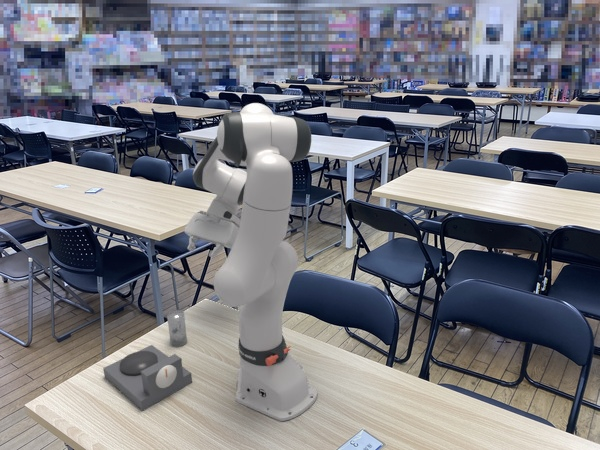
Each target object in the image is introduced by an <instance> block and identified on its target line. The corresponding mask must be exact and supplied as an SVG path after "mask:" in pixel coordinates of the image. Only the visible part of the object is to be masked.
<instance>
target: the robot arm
mask: <svg viewBox="0 0 600 450" xmlns="http://www.w3.org/2000/svg"><path fill="white" fill-rule="evenodd" d="M311 130H312V129H311V126H309V124H308V122H307V121H306V120H304V119H302V118H300V117H296V116H285V115H279V114H274V112H273V111H272V109H271V108H269V106H267V105H265V104H263V103H259V102H252V103H249V104H246V105H245V106H243V107H242V108H241V109H240V111H234V112H229V113H225V114H224V115H223V116H222V117H221V119H220V121H219V124H218V127H217V130H216V136H215V138H214V140H213V141H212V142H211V143H210V146H209V147H208V149H207V150H206V152H205V154H204V155H203V157H202V159H200V160H199V161H198V162H197V164H196V165H195V166H194V169H193V172H192V179H193V182H194V184H195V186H196V187H198V188H200V189H203V190H205V191H208V192H210V193H212V194H214V195H216V196H215V197H214V198H213V200H212V201H211V203H210V205H209V207H208V208H207V210H206V211H204V210H199V211H198V212H196V213H194V215H193V216H191V218H190V219H189V221H188V222H187V223H186V225H185V227H184V230H183V231H184V233H185V234H186V235H187V236H189V239H188V240H189V241H188V246H187V251H190V252H194V251H195V249H196V246H195V243H196V242H197V241H198V240H201V241H204V242H207V243H210V244H214V245H215V248H213V250H211V249H210V251H209V253H208V257H210V258H212V259H215V258H216V257H217V254H220V252H221V251H223V249H224V248H228V249H230V251H229V254H228V255H227V257H226V260H225V261H224V262H223V264H222V266H221V267H220V268H219V269H218V271H216V273H215V275H214V277H213V289H214V292H215V294H216V297H217V298H218V299H219V300H220V301H221V303H223V304H225V305H226V306H229V307H231V308H237V307H238V308H239V307H240V310H239V313H238V326H239V330H238V331H239V338H238V347H237V348H238V353H239V356H240V358H239V359H240V360H239V365H238V373H237V374H238V376H237V383H236V394H235V398H234V399H235V402H237V403H239V404H241V405H243V406H246V407H247V408H250V409H252V410H255V411H257V412H259V413H260V414H263V415H266V416H268V417H270V418H272V419H275V420H277V421H279V422H284V421H285V422H286V421H289V420H293V419H294V418H297V417H298V416H300V415H301V414H303V413H304V412H306V411H307V410H308V409H309V408H310V407H312V405H313V404H314V403H315V402H316V400H317V399H318V391H317V389H316V388H315V387H314V386H312V385H311V384H310V383H309V381H308V377H307V374H306V372H305V371H304V370H303V365H302V362H300V361H298V362H297V361H296V360H295V359H294V357H293V356H292V355H291V353H290V351H291V345H289V346H287V343H286V340H285V337H284V335H283V310H284V305H285V301H286V297H287V293H288V290H289V286H290V283H291V280H292V279H293V276H294V274H295V272H296V270H297V269H298V267H299V255H298V253H297V251H296V249H295V248H294V247H293V246H292V245H291V243H289V242H287V241H285V240H284V239H285V237H286V235H287V232H288V225H289V219H290V213H291V206H292V198H293V197H292V196H293V167H292V164H291V163H294V162H301V161H302V160H304V159H305V158H306V157H307V156H308V155H309V153H310V150H311V145H312V131H311ZM220 160H223V161H225V162H228V163H229V162H230V163H232V164H234V166H235V167H236V168H233V167H231V166H229V165H227V164H225V163H223V162H221V161H220ZM240 166H241V167H246V171H245V170H243V168H242V169H241V168H238V167H240ZM240 206H241V214H240V217H238V216H237V215H238V211H239V208H240Z"/></svg>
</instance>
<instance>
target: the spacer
mask: <svg viewBox="0 0 600 450" xmlns="http://www.w3.org/2000/svg"><path fill="white" fill-rule="evenodd" d="M166 318H167V325H168V334H169V340H170V346H171V347H172V348H173V347H174V348H182V347H184V346H185V345H186V344H188V337H187V327H186V319H185V318H186V317H185V312H184V311H183V310H181V309H176V310H171V311H169V312H168V313H167V315H166Z"/></svg>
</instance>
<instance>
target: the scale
mask: <svg viewBox="0 0 600 450" xmlns="http://www.w3.org/2000/svg"><path fill="white" fill-rule="evenodd" d="M102 370H103V374H104V378H105V379H106V380H107V381H108V382H109V383H111V384H112V385H113V386H114V388H116V389H117V390H118V391H120V393H122V394H123V396H125V397H126V398H127V399H129V400H130V401H131V402H132V403H133V404H134V405H135V406H136V407H137V408H139V409H140V410H141V412H144V411H145V410H147V409H149V408H150V407H152V406H154V405H155V404H157V403H159V402H161V401H162V400H164V399H166V398H168V397H169V396H171V395H173V394H174V393H176V392H178V391H179V390H181V389H183V388H185V387H186V386H188V385H190V384H191V383H193V376H192V372H191V371H189V370H188V369H187V368H185V367H184V366H183V362H182V357H180V356H179V355H177V354H176V353H174V354H172V355H170V356H168V355H167V354H166V353H164V352H163V351H161V350H160V349H158V348H157V347H155V346H154V345H153V344H151V345H148V346H146V347H144V348H142V349H140V350H138V351H135V352H132V353H130V354H128V355H126V356H125V357H123V358H122V359H121V358H120V359H119V360H117V361H115V362H112V363H111V364H109V365H107V366H105V367H103V369H102Z"/></svg>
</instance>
